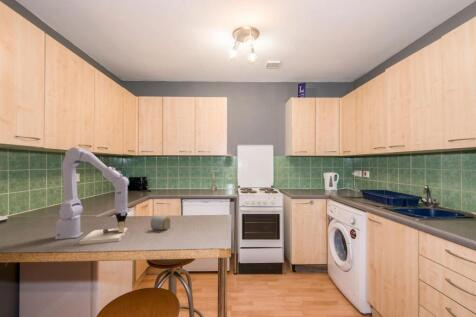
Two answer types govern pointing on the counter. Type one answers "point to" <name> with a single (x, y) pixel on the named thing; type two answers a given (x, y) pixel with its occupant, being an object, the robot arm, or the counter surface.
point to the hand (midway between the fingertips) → (121, 227)
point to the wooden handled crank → (121, 229)
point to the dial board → (102, 236)
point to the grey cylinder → (160, 222)
